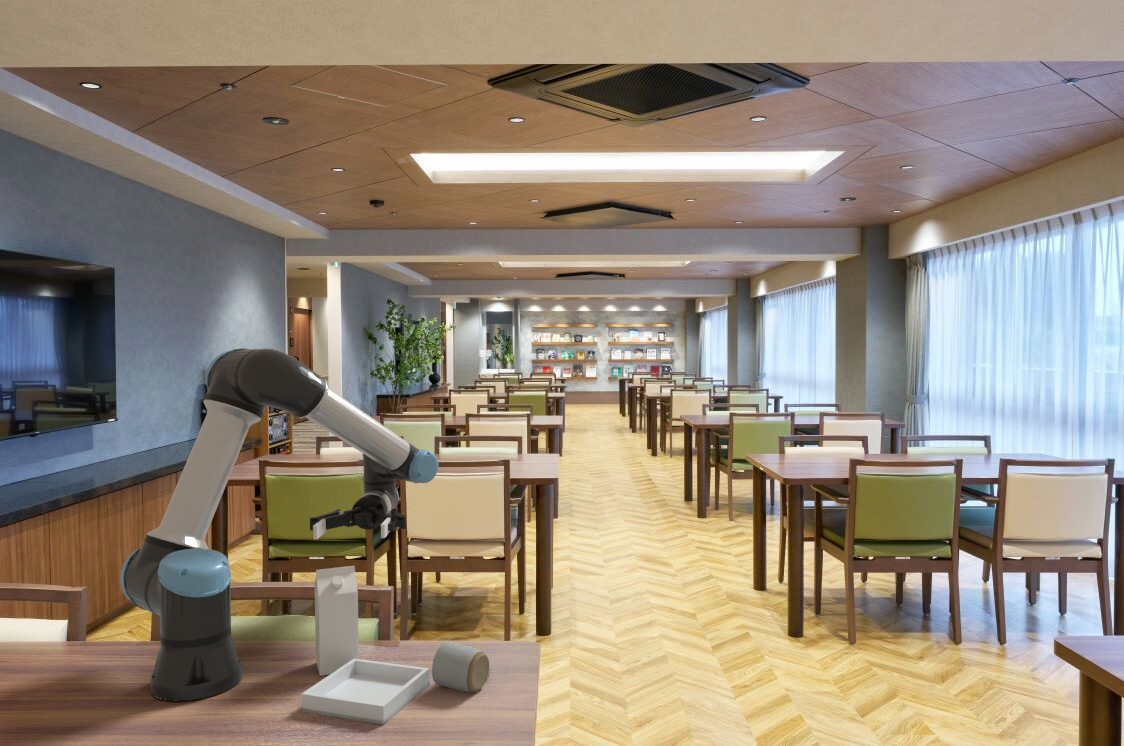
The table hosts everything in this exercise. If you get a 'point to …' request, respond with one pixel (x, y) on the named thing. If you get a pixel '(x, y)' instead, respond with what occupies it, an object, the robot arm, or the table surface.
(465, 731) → the table surface
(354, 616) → the milk carton
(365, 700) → the tray
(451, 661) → the ceramic mug
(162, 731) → the table surface
